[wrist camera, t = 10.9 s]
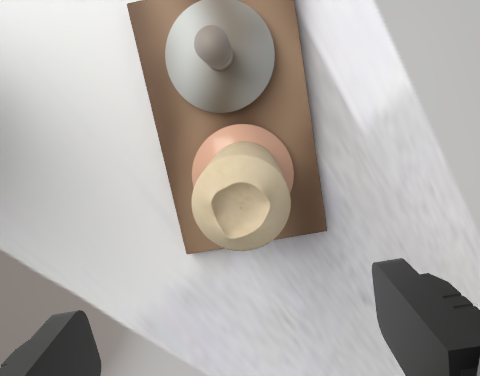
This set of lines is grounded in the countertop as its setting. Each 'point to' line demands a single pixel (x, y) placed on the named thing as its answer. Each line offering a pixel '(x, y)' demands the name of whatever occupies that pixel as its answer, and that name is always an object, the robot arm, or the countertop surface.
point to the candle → (241, 197)
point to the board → (227, 93)
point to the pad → (243, 134)
